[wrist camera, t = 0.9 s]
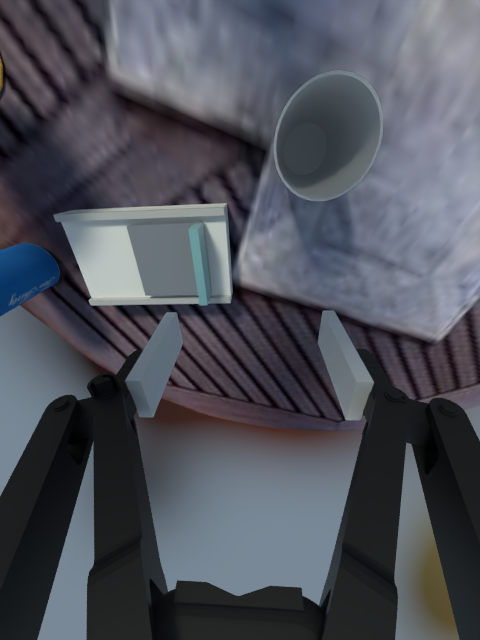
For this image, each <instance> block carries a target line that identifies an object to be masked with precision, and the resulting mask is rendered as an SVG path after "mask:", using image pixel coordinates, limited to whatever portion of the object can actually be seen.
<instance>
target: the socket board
mask: <svg viewBox="0 0 480 640" xmlns="http://www.w3.org/2000/svg"><path fill="white" fill-rule="evenodd" d="M53 216H54V218H55V221H56V222H61V223H62V225H63V228H64V230H65V233H66V235H67V238H68V240H69V243H70V245H71V248H72V250H73V253H74V255H75V258H76V260H77V263H78V265H79V268H80V270H81V272H82V275H83V277H84V280H85V282H86V285H87V287H88V290H89V292H90V295H91V297H92V298H91V299H90V300H89V303H90V305H148V304H199V298H198V295H161V296H145V292H144V289H143V285H142V281H141V278H140V274H139V270H138V267H137V263H136V259H135V256H134V252H133V248H132V245H131V241H130V237H129V234H128V230H127V227H126V226H128V225H136V224H162V223H189V222H204V226H205V235H206V243H207V252H208V261H209V270H210V278H211V287H212V294H211V297H210V300H209V303H208V304H210V303H231V299H232V293H233V287H232V272H231V256H230V241H229V226H228V210H227V203H223V204H199V205H175V206H152V207H128V208H105V209H81V210H71V211H66V212H62V213H58V214H54V215H53Z"/></svg>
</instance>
